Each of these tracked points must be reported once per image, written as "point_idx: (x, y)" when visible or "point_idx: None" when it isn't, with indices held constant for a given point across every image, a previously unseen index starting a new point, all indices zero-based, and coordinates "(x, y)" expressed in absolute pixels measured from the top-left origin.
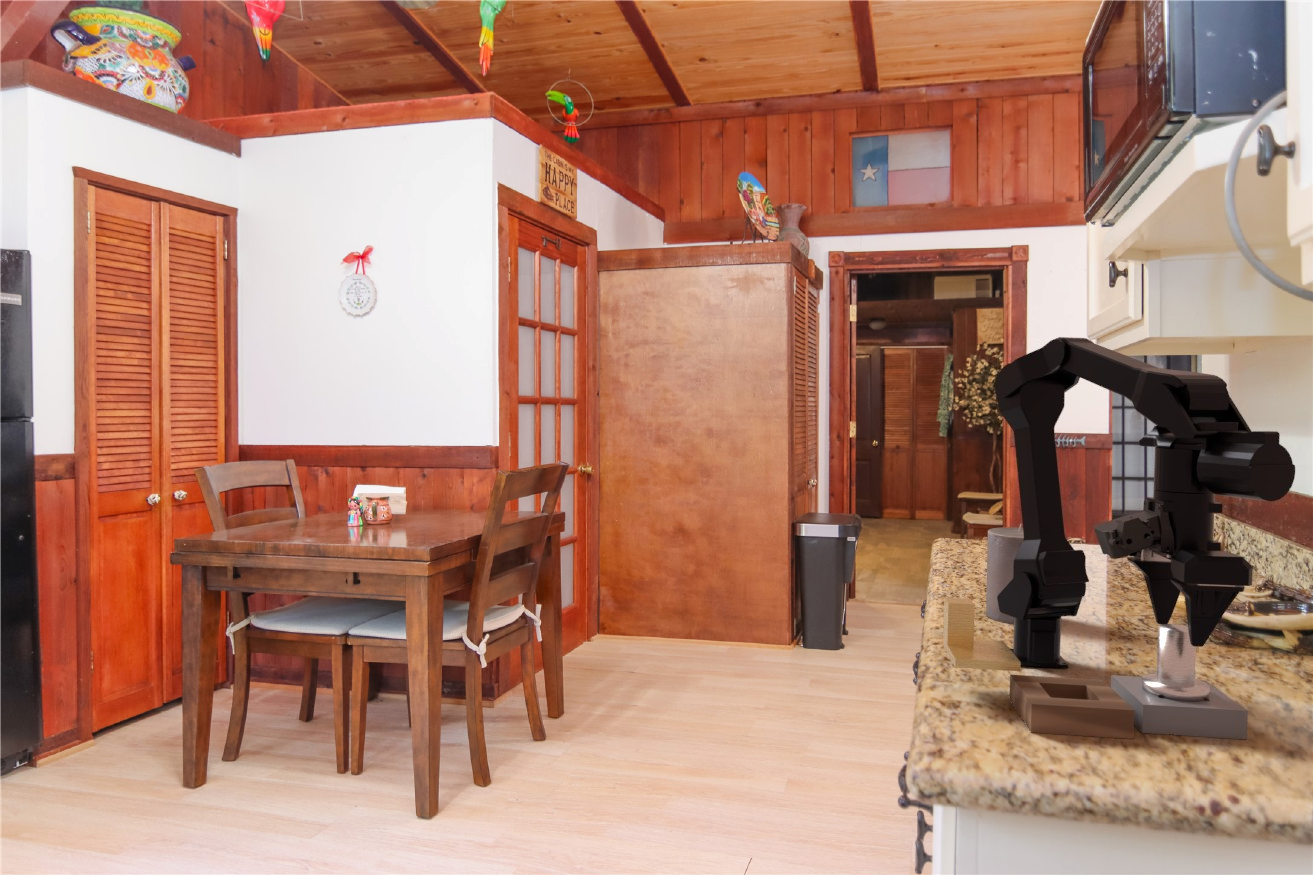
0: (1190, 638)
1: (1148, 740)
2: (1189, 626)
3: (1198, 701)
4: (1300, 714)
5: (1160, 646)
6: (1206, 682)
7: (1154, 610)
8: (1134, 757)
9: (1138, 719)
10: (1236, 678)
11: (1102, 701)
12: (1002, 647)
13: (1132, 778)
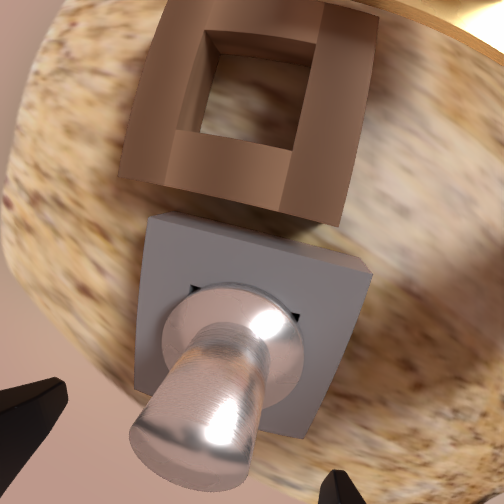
0: (45, 384)
1: (142, 201)
2: (12, 395)
3: None
4: (257, 479)
5: (199, 374)
6: (289, 433)
7: (350, 500)
8: (86, 140)
9: (187, 217)
10: (398, 486)
11: (169, 130)
12: (458, 15)
13: (42, 110)
